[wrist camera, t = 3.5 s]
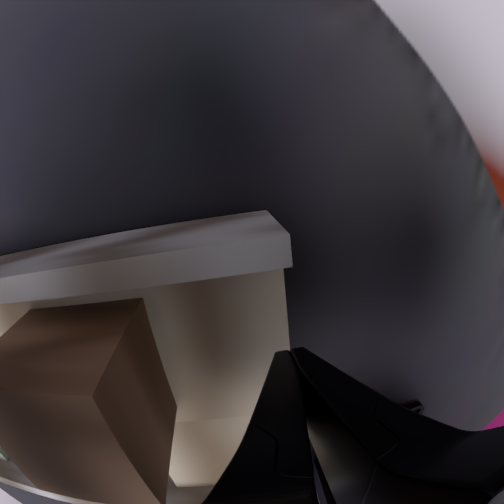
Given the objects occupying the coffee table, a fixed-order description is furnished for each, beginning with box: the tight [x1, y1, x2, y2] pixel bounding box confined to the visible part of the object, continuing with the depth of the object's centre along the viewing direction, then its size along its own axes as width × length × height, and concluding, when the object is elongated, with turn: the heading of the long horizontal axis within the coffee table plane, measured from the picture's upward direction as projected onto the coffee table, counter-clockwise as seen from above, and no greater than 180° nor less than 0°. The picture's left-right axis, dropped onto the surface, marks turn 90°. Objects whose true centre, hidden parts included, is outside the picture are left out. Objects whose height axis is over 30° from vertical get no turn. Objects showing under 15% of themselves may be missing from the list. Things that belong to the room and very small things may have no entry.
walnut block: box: [0, 297, 177, 504], centre depth 7 cm, size 4×4×4 cm
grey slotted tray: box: [0, 210, 293, 504], centre depth 10 cm, size 22×13×4 cm, turn 97°
